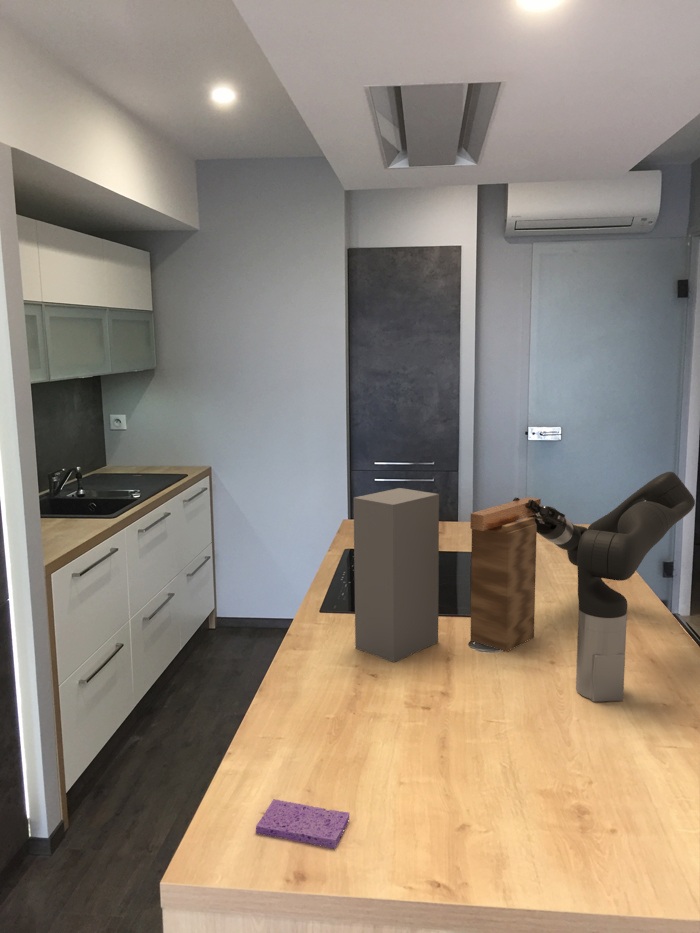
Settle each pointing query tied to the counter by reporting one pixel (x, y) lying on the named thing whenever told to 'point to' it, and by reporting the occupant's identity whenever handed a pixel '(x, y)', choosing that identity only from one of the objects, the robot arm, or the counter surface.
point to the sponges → (303, 823)
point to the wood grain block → (503, 584)
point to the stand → (396, 572)
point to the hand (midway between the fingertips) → (522, 502)
